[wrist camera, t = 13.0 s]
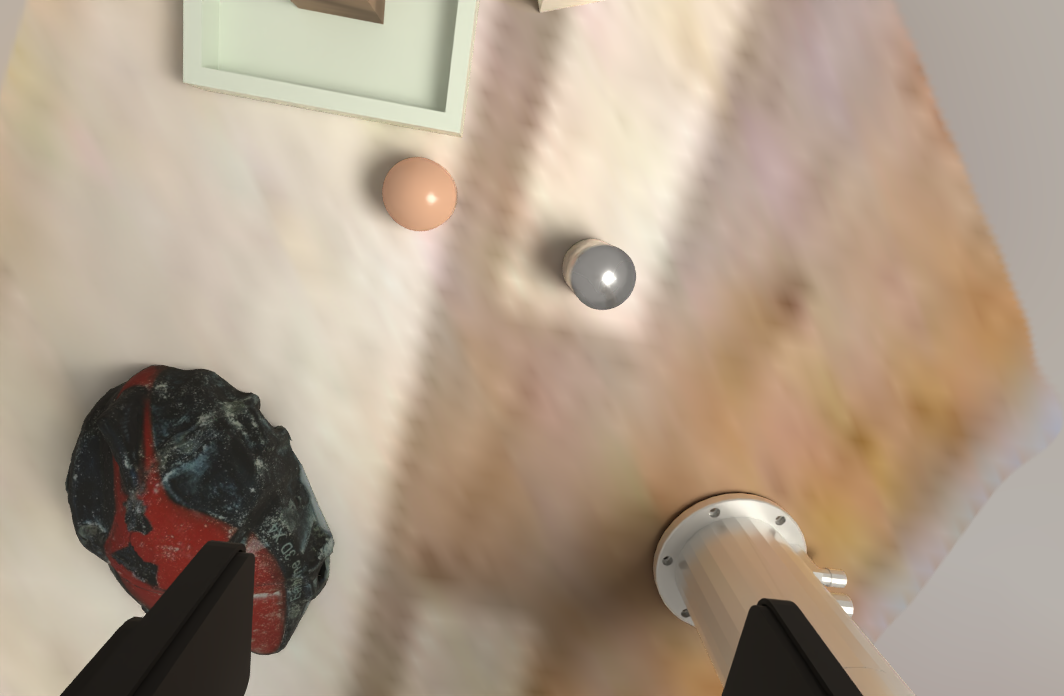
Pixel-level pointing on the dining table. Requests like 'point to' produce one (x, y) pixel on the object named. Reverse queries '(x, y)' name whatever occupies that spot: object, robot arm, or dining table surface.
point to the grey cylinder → (599, 273)
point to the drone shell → (197, 493)
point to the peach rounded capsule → (419, 194)
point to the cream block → (561, 4)
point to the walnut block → (347, 8)
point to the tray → (337, 58)
